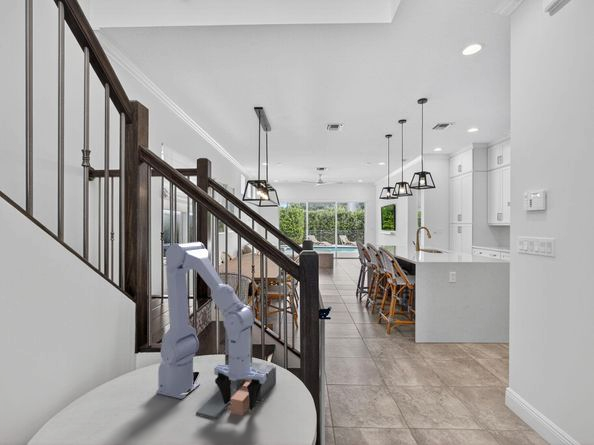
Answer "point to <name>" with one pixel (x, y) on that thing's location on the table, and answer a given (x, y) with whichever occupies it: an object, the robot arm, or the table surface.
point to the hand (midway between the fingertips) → (239, 404)
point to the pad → (214, 405)
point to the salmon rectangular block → (240, 400)
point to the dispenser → (267, 384)
